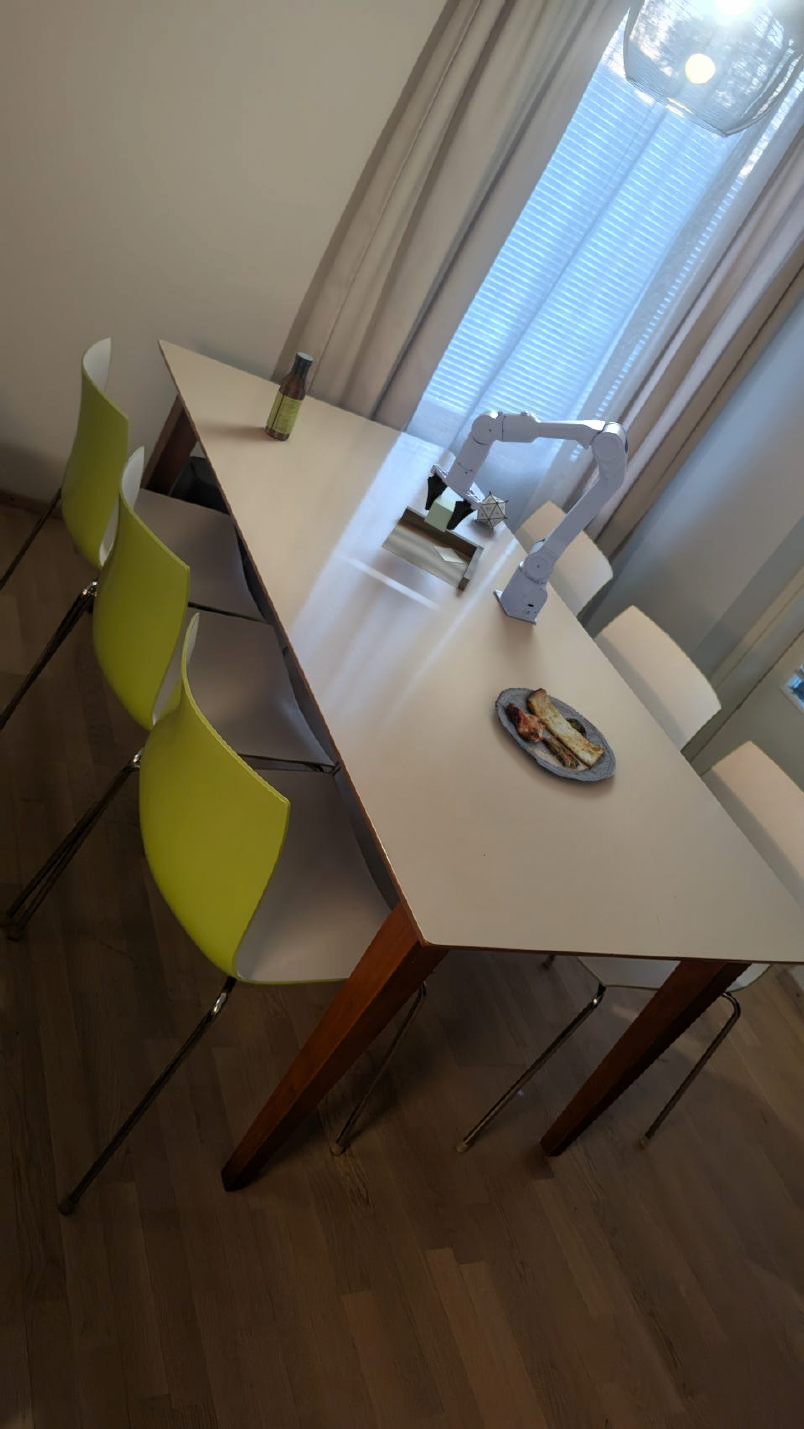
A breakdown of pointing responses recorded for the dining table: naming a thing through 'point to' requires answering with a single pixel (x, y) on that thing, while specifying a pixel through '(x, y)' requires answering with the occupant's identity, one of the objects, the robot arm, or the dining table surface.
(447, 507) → the sage cube
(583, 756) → the food plate
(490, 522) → the game die
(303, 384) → the sauce bottle
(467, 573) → the arena
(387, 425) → the dining table surface
